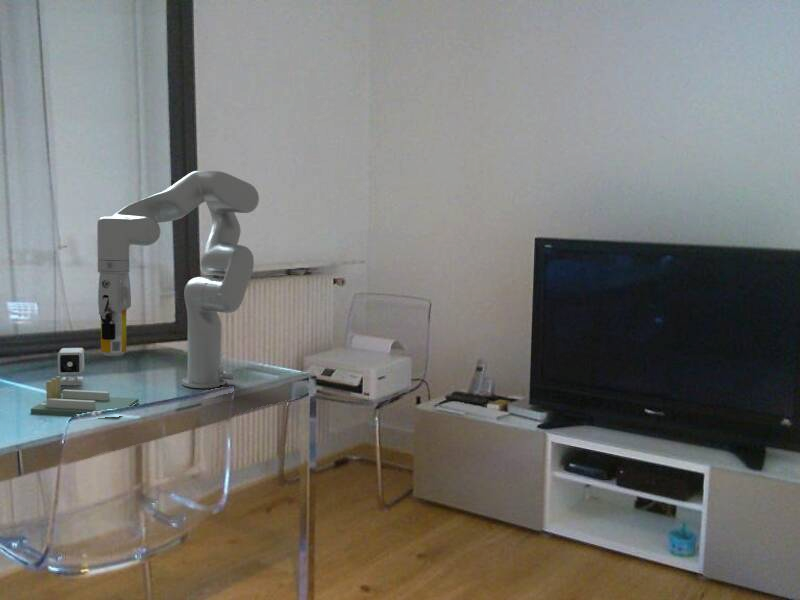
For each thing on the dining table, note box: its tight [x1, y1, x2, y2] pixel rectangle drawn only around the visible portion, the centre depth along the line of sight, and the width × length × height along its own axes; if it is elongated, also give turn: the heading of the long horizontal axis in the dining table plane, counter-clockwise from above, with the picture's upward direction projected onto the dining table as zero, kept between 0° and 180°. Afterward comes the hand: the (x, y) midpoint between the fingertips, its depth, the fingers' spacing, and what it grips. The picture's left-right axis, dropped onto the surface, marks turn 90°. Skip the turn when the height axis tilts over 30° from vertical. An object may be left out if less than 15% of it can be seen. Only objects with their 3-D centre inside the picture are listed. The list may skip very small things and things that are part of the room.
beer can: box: [100, 299, 127, 357], centre depth 199 cm, size 6×6×15 cm
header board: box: [30, 375, 140, 417], centre depth 202 cm, size 22×14×7 cm, turn 88°
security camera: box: [57, 347, 85, 387], centre depth 224 cm, size 6×7×10 cm
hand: (113, 336), depth 199 cm, fingers closed on beer can, 6 cm apart
